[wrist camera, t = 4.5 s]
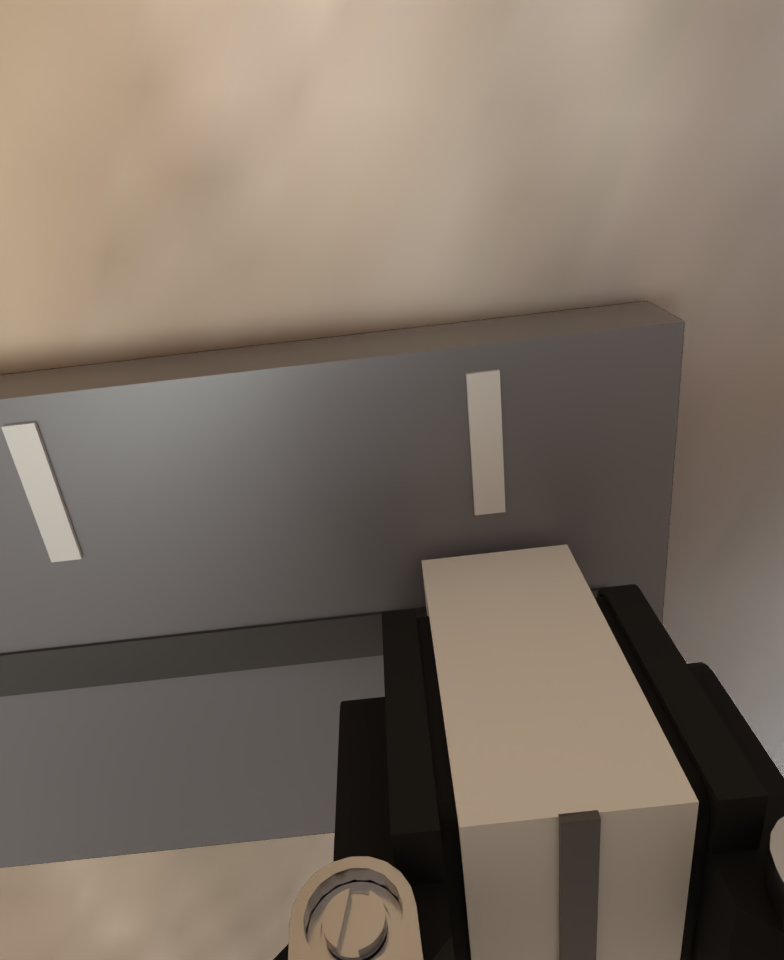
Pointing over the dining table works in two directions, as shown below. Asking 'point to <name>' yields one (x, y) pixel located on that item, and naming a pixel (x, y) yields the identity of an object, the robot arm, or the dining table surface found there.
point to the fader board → (287, 551)
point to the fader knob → (555, 767)
